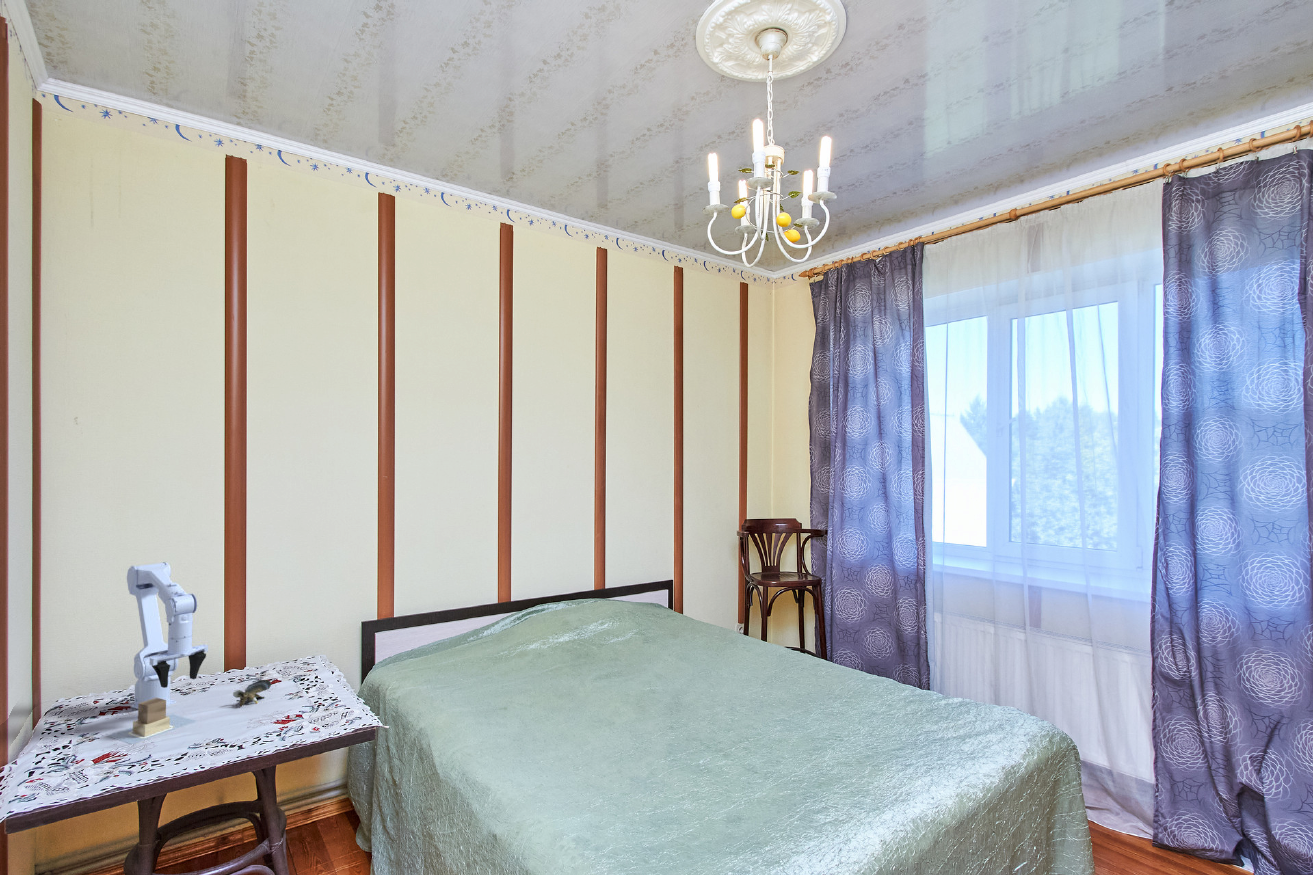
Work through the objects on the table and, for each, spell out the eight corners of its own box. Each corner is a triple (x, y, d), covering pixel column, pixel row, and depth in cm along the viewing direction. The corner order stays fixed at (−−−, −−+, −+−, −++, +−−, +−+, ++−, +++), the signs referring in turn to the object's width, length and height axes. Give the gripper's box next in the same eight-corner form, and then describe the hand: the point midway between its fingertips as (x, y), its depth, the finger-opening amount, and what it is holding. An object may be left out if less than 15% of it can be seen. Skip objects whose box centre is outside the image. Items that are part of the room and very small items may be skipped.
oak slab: (132, 732, 173) (132, 721, 173) (157, 724, 178) (157, 713, 178) (144, 736, 170) (145, 725, 170) (169, 727, 176) (169, 717, 176)
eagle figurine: (256, 704, 191) (277, 688, 199) (242, 686, 190) (263, 671, 199) (239, 716, 192) (260, 700, 201) (225, 698, 191) (246, 682, 200)
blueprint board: (107, 737, 171) (107, 735, 171) (172, 715, 185) (172, 713, 185) (131, 745, 166) (131, 743, 166) (196, 722, 180) (196, 720, 180)
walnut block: (137, 721, 173) (138, 703, 173) (156, 715, 177) (156, 697, 177) (147, 724, 171) (147, 705, 171) (165, 717, 175) (166, 700, 176)
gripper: (159, 644, 176) (158, 693, 176) (214, 631, 189) (213, 676, 189) (146, 641, 179) (144, 688, 179) (200, 629, 192) (199, 673, 192)
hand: (178, 682), depth 184 cm, fingers open, 7 cm apart
